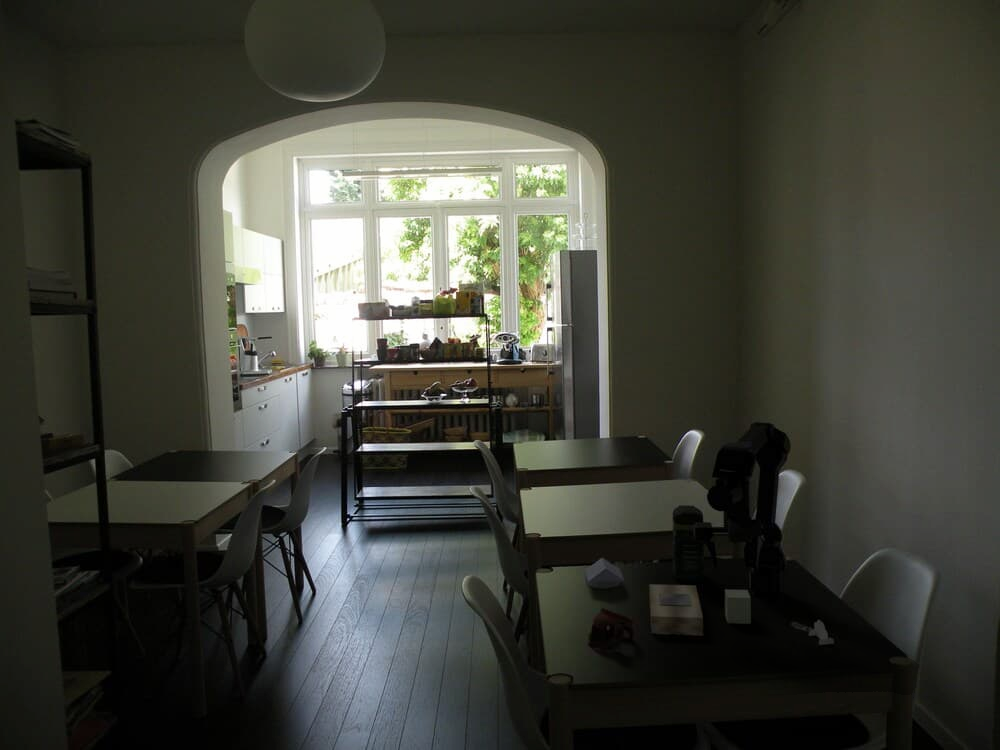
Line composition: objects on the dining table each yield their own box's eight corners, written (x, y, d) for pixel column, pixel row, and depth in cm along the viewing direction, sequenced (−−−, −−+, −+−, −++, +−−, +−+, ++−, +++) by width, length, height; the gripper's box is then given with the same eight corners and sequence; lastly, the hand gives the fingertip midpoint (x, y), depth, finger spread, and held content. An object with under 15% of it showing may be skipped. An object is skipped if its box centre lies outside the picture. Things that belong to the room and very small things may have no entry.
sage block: (747, 615, 183) (747, 590, 183) (750, 624, 178) (750, 598, 178) (725, 614, 184) (724, 589, 183) (727, 623, 179) (727, 597, 179)
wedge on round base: (624, 593, 199) (617, 576, 212) (623, 567, 199) (617, 551, 212) (588, 594, 200) (584, 577, 212) (587, 568, 199) (583, 552, 212)
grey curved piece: (844, 647, 166) (844, 626, 165) (813, 649, 165) (813, 628, 165) (812, 619, 181) (812, 600, 180) (783, 621, 180) (783, 602, 180)
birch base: (695, 601, 192) (695, 584, 192) (703, 635, 173) (703, 616, 172) (649, 600, 194) (649, 583, 194) (651, 633, 175) (651, 615, 174)
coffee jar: (706, 583, 205) (705, 512, 203) (674, 582, 206) (673, 512, 204) (701, 570, 214) (700, 502, 213) (671, 570, 215) (670, 502, 214)
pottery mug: (579, 640, 174) (591, 603, 176) (617, 655, 175) (629, 619, 177) (597, 648, 162) (610, 609, 164) (638, 665, 163) (650, 625, 166)
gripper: (696, 510, 173) (697, 580, 174) (786, 510, 169) (786, 582, 171) (692, 497, 183) (693, 563, 185) (777, 498, 180) (777, 565, 182)
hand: (737, 568), depth 180 cm, fingers open, 9 cm apart
